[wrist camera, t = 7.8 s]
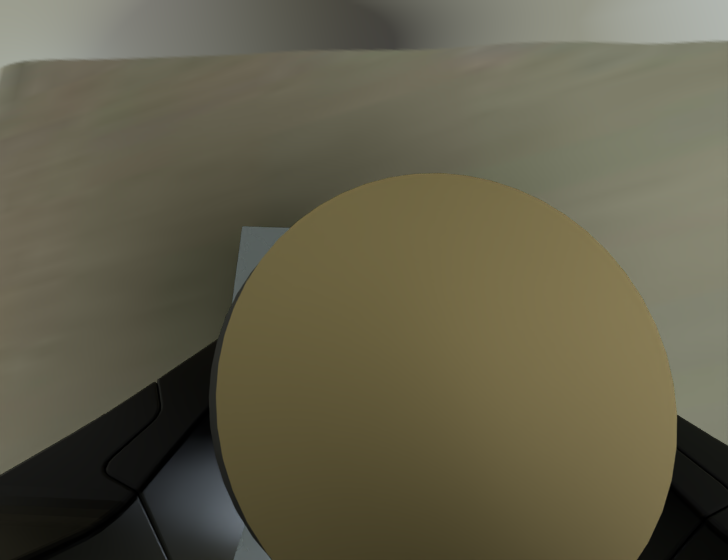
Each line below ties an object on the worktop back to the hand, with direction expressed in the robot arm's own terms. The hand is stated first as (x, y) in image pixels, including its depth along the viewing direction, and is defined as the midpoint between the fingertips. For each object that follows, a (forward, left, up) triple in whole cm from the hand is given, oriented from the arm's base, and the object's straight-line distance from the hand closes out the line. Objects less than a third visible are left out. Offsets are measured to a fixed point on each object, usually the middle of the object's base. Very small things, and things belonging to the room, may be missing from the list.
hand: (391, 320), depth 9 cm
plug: (-1, 0, -7) cm, 7 cm away
